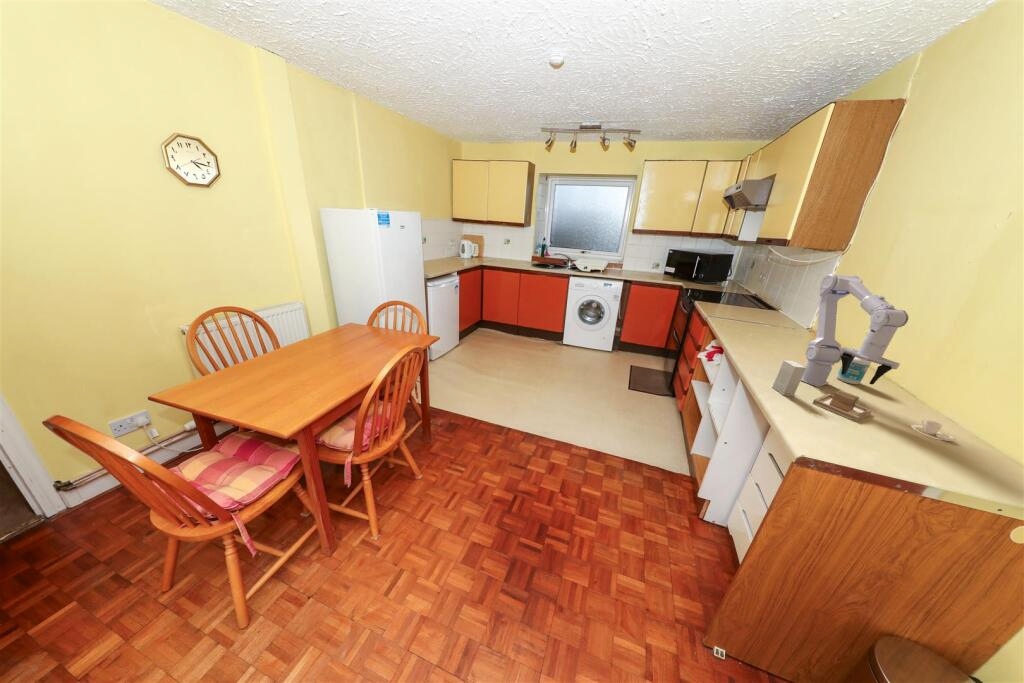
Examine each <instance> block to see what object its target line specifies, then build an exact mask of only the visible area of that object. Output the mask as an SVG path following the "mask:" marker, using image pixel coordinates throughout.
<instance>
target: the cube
mask: <svg viewBox="0 0 1024 683" xmlns="http://www.w3.org/2000/svg"><path fill="white" fill-rule="evenodd" d="M833 395H834V396H833V398H832V400H831V402H830V404H829V405H831V406H833V407H835V408H838V409H840V410H843V411H845V412H849V411H851V410H853V408H854V406H855V405H856V404H857V403H858V401H859V399H860V396H858V395H855V394H852V393H849V392H847V391H844V390H838V391H836V392H835V393H834V394H833Z"/></svg>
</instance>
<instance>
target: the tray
mask: <svg viewBox="0 0 1024 683" xmlns="http://www.w3.org/2000/svg"><path fill="white" fill-rule="evenodd" d="M833 396H834V394H831V393H827V394H824V395H822V396H819V397H817V398H815V399H813V401H812V404H813V405H816V406H818V407H821V408H823V409H825V410H828V411H830V412H833V413H835V414H837V415H840V416H842V417H845V418H847V419H849V420H852V421H854V422H857V421H859V420H861V419H863V418H865V417H867V416H868V415H870V414H871V413H872V409H869V408H867V407H865V406H861V405H860V404H857V403H856V405H855V406H854V408H853V410H851V411H849V412H845V411H843V410H840V409H838V408H835V407H833V406H831V405H829V404H830V402H831V400H832V398H833Z"/></svg>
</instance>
